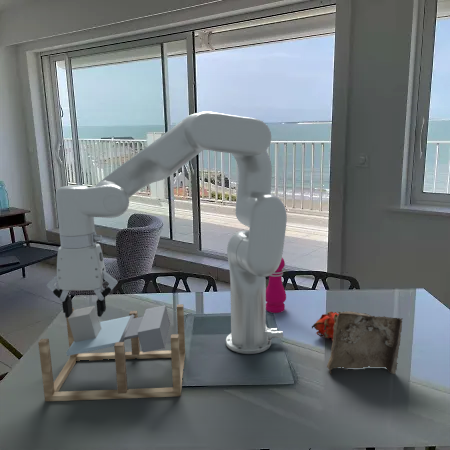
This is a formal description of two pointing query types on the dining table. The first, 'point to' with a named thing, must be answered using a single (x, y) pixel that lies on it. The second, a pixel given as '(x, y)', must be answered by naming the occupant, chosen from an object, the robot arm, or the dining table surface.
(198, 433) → the dining table surface
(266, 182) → the robot arm
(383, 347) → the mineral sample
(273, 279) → the pepper mill
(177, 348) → the frame
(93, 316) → the light grey block
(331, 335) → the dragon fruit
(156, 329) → the trapdoor
